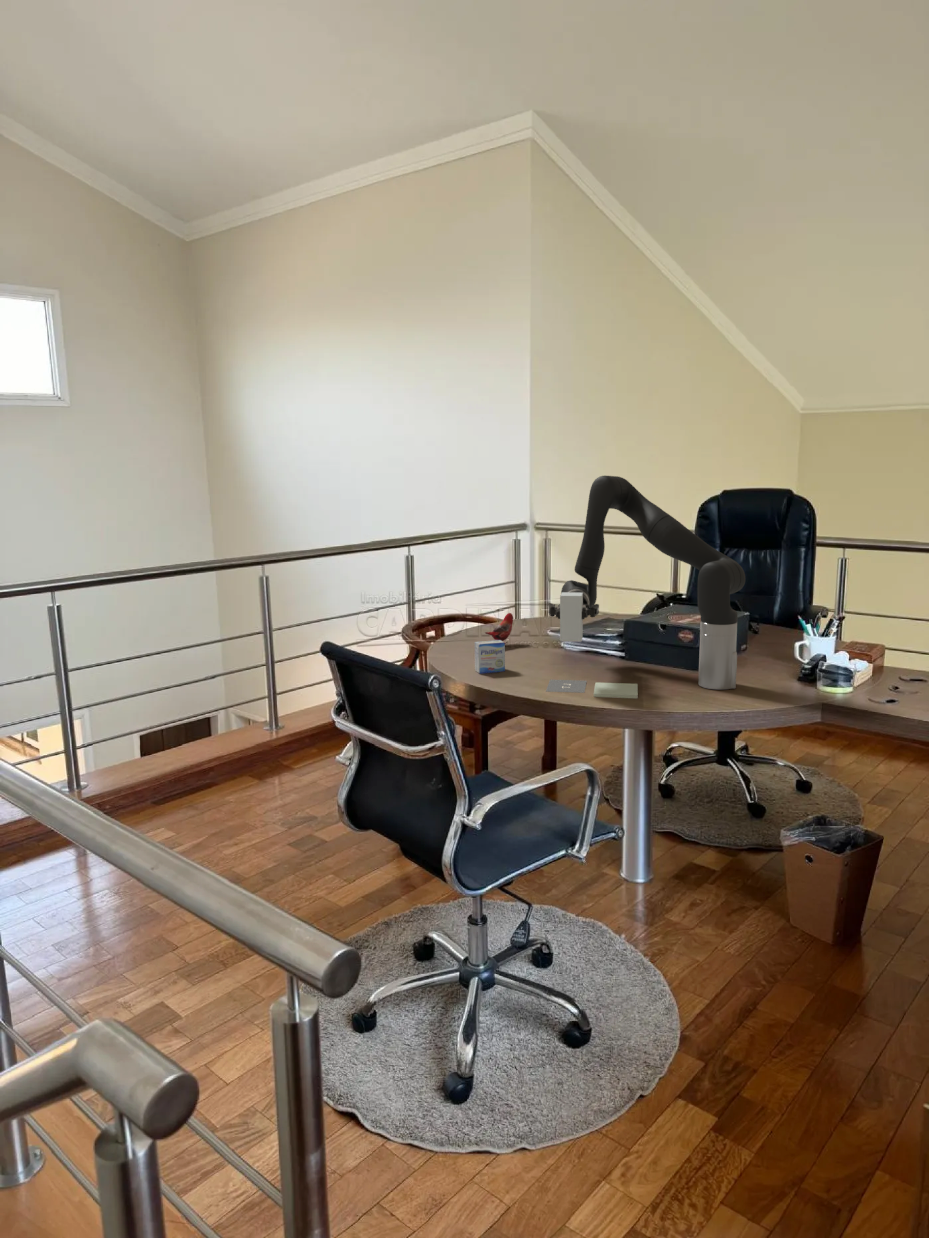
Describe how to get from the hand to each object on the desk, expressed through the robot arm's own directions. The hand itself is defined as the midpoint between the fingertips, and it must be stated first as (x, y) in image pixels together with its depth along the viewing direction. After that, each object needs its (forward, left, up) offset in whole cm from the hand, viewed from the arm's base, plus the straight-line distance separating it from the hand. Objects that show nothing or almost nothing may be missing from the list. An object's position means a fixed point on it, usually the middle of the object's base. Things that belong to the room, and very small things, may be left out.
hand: (571, 615), depth 225 cm
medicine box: (+24, -17, -20) cm, 36 cm away
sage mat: (-12, +1, -20) cm, 23 cm away
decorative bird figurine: (+26, -49, -20) cm, 59 cm away
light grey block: (0, -2, -7) cm, 7 cm away
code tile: (+1, -3, -20) cm, 20 cm away
